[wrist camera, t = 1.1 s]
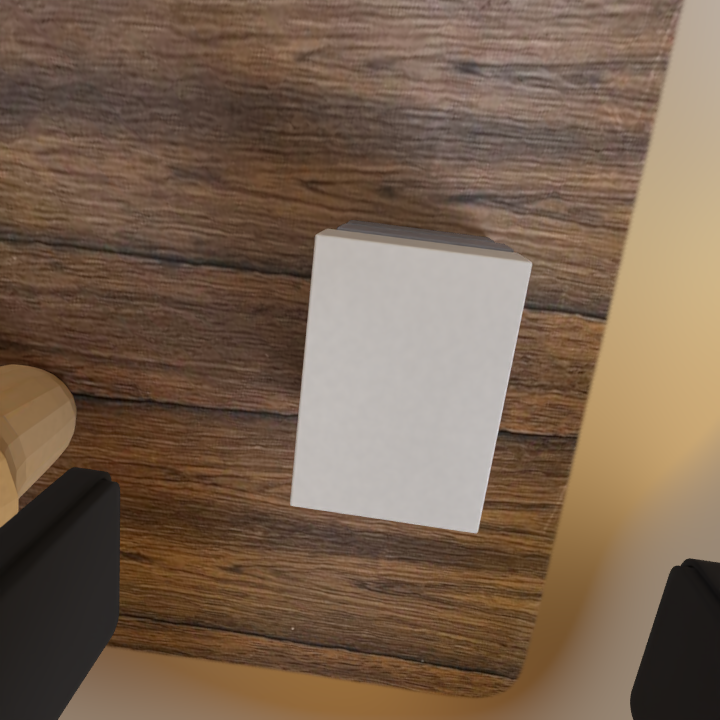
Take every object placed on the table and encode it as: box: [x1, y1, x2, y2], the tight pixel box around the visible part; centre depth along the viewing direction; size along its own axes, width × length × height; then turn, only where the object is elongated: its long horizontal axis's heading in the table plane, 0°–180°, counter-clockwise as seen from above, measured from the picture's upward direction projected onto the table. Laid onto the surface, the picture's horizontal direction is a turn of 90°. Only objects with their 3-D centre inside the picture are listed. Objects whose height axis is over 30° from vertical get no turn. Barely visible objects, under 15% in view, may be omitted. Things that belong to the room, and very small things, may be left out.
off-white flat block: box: [290, 229, 532, 533], centre depth 22 cm, size 10×7×2 cm
